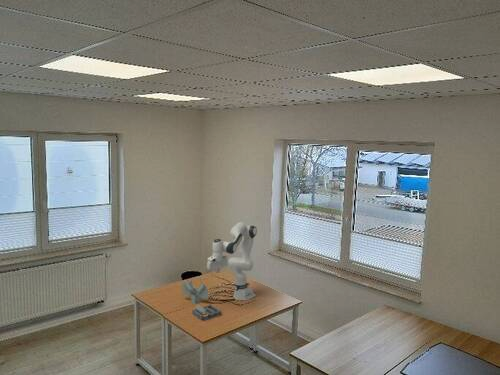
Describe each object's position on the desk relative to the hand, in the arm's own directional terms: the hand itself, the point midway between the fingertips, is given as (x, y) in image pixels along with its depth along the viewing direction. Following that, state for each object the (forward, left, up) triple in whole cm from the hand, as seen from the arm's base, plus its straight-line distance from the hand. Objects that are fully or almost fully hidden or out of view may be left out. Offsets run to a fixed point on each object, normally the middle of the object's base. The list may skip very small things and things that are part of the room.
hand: (217, 272), depth 344 cm
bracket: (+8, -26, -34) cm, 44 cm away
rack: (+13, +3, -34) cm, 37 cm away
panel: (+19, +3, -33) cm, 38 cm away
